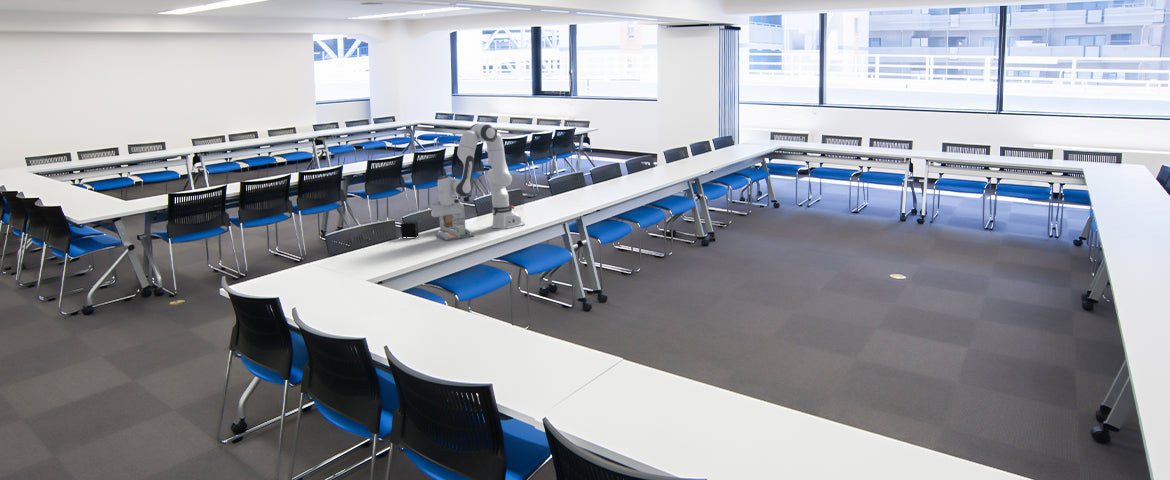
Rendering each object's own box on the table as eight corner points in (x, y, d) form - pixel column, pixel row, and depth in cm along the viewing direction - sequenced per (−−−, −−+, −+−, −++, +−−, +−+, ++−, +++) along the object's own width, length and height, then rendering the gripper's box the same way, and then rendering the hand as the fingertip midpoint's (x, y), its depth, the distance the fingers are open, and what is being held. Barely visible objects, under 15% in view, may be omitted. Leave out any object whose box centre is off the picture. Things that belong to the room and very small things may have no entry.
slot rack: (464, 231, 506) (463, 222, 504) (473, 236, 490) (473, 227, 489) (436, 235, 497) (435, 227, 495) (445, 241, 482) (444, 232, 480)
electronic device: (416, 238, 493) (414, 223, 490) (401, 238, 495) (400, 223, 492) (418, 236, 497) (417, 221, 494) (404, 236, 499) (403, 221, 496)
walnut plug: (452, 227, 488) (451, 214, 486) (446, 227, 486) (445, 215, 484) (449, 225, 493) (448, 213, 491) (443, 226, 492) (442, 214, 490)
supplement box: (439, 229, 516) (437, 203, 511) (457, 225, 523) (454, 200, 519) (448, 232, 505) (446, 206, 501) (466, 228, 513) (464, 203, 508)
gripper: (431, 203, 478) (433, 225, 482) (462, 199, 488) (464, 220, 491) (428, 202, 484) (430, 223, 487) (459, 198, 493) (460, 218, 497)
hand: (447, 222), depth 489 cm, fingers closed on walnut plug, 4 cm apart
